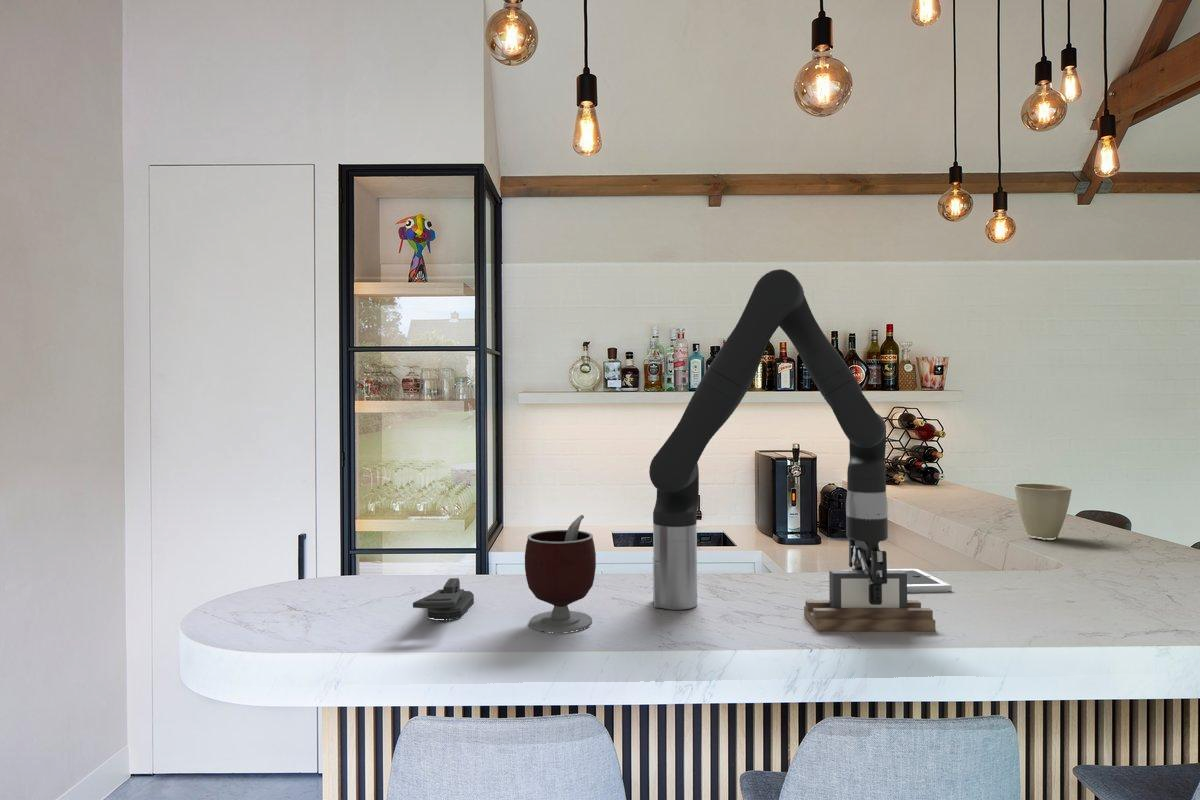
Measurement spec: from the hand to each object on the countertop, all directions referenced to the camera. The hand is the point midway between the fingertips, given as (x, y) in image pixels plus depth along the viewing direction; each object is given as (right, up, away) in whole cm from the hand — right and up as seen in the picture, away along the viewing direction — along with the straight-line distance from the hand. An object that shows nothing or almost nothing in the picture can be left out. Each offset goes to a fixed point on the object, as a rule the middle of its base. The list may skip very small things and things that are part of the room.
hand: (867, 598), depth 138 cm
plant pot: (+84, -4, +81) cm, 117 cm away
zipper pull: (-83, -6, +6) cm, 83 cm away
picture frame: (+16, -6, +30) cm, 34 cm away
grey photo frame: (0, -3, 0) cm, 3 cm away
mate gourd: (-59, -6, +2) cm, 59 cm away
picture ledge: (0, -5, 0) cm, 5 cm away
